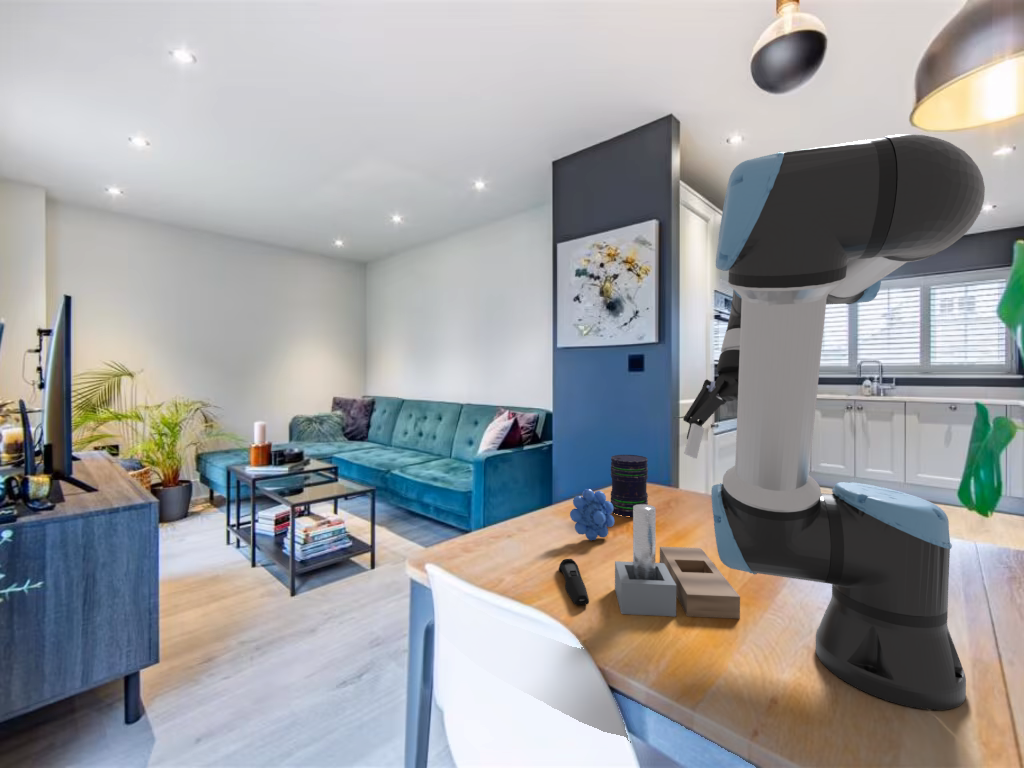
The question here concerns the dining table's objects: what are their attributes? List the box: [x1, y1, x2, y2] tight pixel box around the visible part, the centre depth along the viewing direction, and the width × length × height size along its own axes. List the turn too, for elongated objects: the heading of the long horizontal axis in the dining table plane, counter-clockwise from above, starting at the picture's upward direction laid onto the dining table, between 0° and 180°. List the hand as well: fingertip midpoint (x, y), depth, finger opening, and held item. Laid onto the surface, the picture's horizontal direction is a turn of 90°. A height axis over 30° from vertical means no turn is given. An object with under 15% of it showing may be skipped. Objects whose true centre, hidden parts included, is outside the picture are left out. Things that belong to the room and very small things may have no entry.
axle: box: [632, 504, 657, 580], centre depth 78 cm, size 4×4×15 cm
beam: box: [659, 546, 741, 620], centre depth 83 cm, size 20×8×4 cm, turn 174°
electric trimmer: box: [558, 558, 590, 606], centre depth 84 cm, size 4×16×3 cm, turn 2°
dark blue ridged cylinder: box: [610, 454, 649, 517], centre depth 127 cm, size 10×10×15 cm
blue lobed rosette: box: [569, 488, 616, 541], centre depth 106 cm, size 12×7×12 cm, turn 113°
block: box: [614, 560, 677, 617], centre depth 78 cm, size 8×8×5 cm
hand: (716, 457), depth 88 cm, fingers open, 13 cm apart
